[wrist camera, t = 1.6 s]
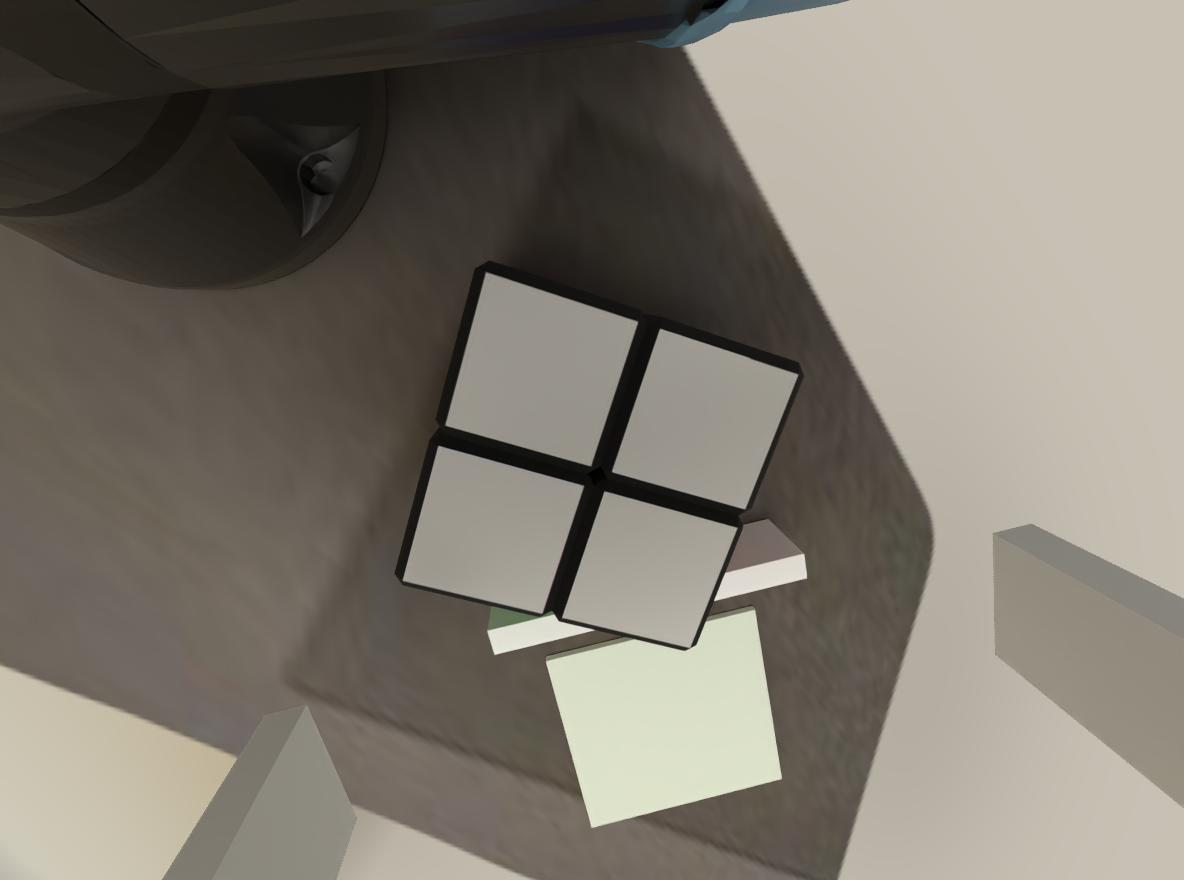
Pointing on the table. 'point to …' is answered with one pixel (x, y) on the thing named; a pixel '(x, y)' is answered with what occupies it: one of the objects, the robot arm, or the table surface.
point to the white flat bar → (751, 568)
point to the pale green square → (667, 718)
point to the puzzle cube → (591, 460)
